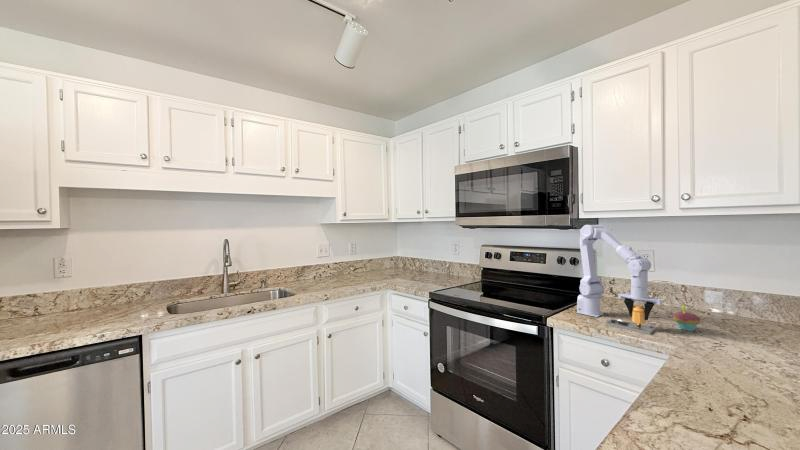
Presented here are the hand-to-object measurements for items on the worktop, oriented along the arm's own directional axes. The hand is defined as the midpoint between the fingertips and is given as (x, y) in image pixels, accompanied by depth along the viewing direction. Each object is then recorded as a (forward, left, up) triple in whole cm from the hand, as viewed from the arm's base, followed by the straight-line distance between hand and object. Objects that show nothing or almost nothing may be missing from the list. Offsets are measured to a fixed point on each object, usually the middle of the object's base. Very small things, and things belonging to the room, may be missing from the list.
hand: (638, 318), depth 136 cm
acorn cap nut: (0, 0, -2) cm, 2 cm away
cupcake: (+13, +14, -5) cm, 20 cm away
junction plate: (-3, 0, -4) cm, 5 cm away
